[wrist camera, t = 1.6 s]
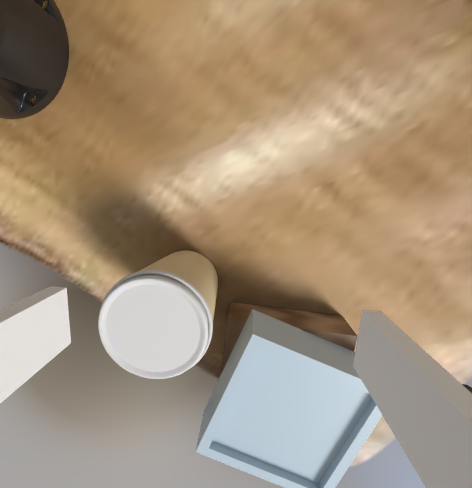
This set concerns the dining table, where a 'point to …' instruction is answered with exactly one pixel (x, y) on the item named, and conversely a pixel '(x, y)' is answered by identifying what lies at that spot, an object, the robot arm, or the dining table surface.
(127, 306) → the coffee cup
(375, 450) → the dining table surface
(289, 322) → the block bottom
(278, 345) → the block top
